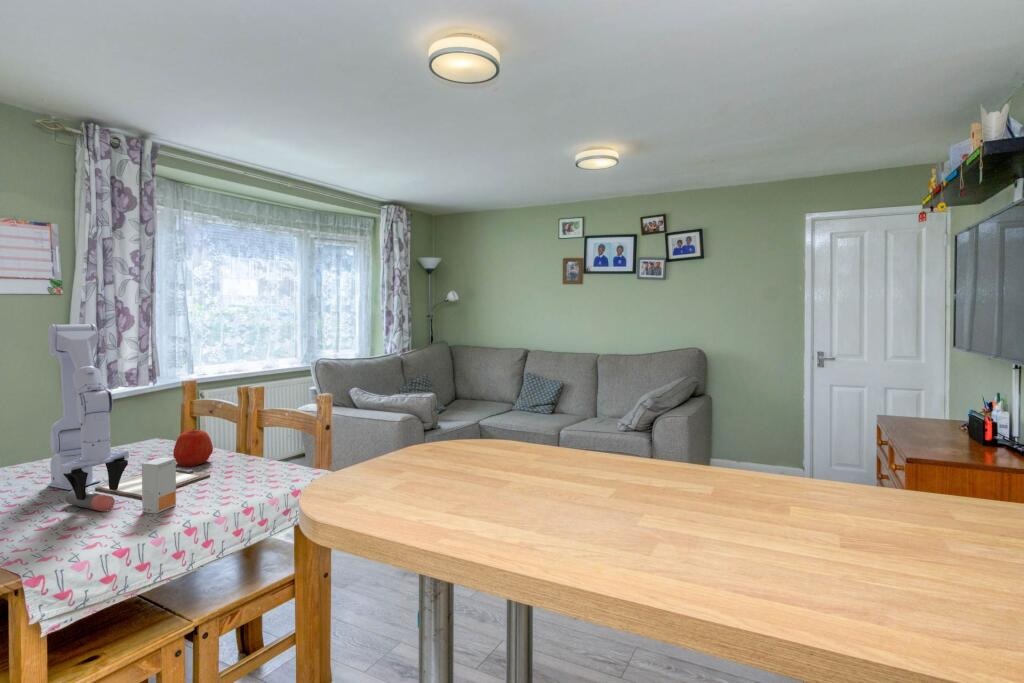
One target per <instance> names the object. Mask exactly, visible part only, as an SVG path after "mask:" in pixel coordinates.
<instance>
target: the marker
mask: <svg viewBox="0 0 1024 683" xmlns="http://www.w3.org/2000/svg"><path fill="white" fill-rule="evenodd" d="M65 502H66V504H68V505H71V506H74V507H81V508H85V509H89V510H95V511H99V512H104V511H106V512H108V511H107V510H109V511H111V510H112V509H113V507H114V506H115V503H116V502H115V498H114V497H113V496H111V495H105V494H101V493H95V492H90V491H86V498H85V500H78V499H77V498H76V495H75V492H74V490H73V489H72V490H69V492H68V493H67V494H66V496H65Z"/></svg>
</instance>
